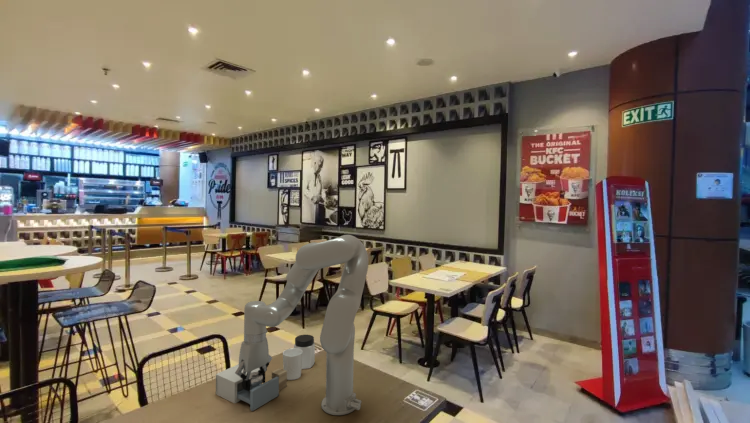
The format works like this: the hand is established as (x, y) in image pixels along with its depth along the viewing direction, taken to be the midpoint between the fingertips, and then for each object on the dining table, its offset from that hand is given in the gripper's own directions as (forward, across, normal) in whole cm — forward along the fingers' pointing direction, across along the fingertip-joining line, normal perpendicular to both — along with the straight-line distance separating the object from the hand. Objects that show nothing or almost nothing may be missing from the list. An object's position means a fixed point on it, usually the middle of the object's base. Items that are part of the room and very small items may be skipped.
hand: (254, 385), depth 128 cm
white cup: (+5, -20, 0) cm, 20 cm away
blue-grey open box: (+5, 0, +1) cm, 5 cm away
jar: (+5, -30, -4) cm, 30 cm away
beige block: (+5, -11, +2) cm, 12 cm away
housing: (+5, 0, -8) cm, 10 cm away
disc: (-1, 0, 0) cm, 1 cm away
